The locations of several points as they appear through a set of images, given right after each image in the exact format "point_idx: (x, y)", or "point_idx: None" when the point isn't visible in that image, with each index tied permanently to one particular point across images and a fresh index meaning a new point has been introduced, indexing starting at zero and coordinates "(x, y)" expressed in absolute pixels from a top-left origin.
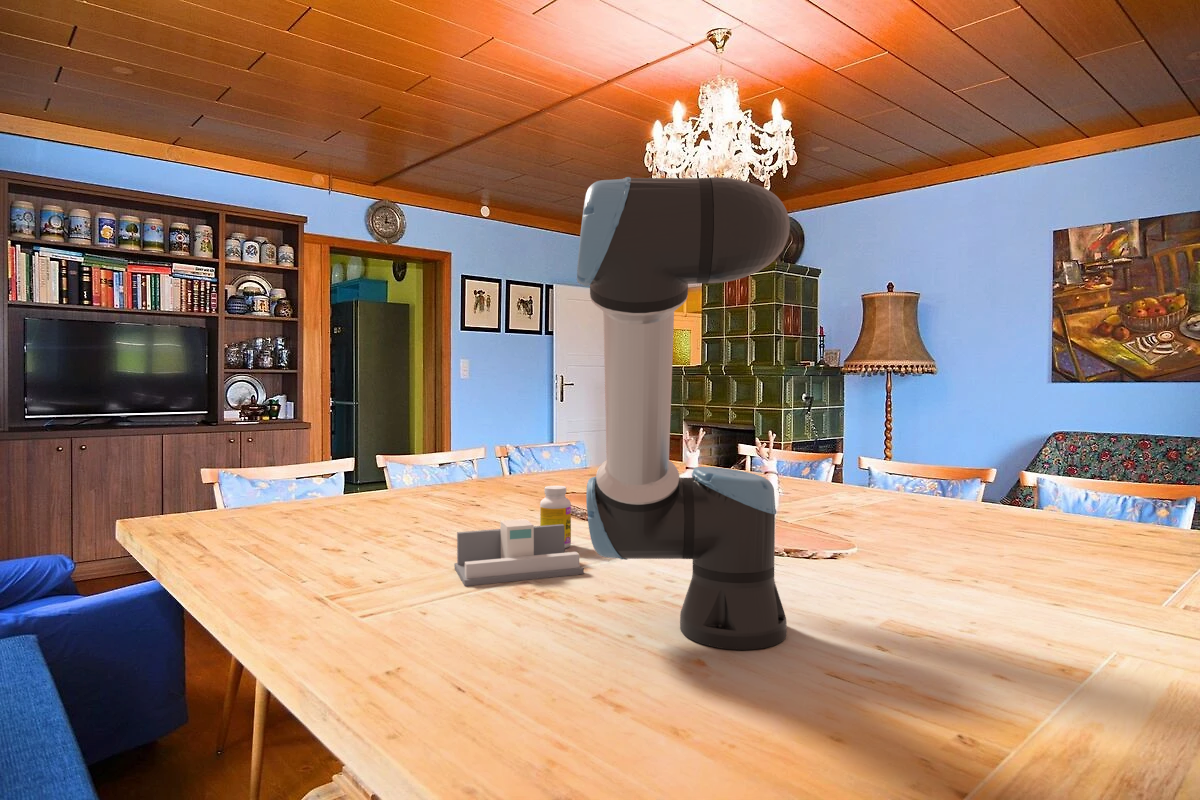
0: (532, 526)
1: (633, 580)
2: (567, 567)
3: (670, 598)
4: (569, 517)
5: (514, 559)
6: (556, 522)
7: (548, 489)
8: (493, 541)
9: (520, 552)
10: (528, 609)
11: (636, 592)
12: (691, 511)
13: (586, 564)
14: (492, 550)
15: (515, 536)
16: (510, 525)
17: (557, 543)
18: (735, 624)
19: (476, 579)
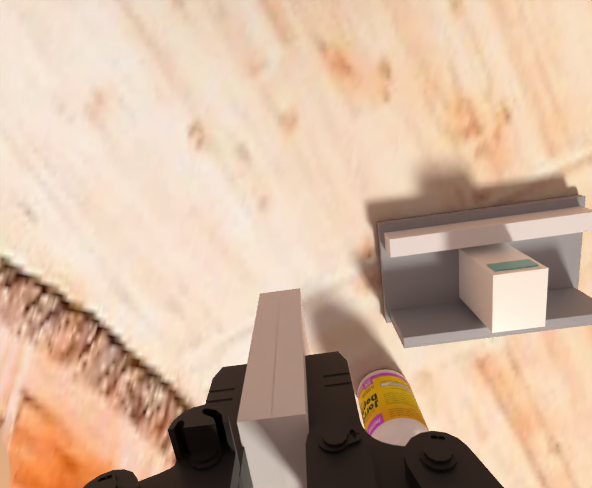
0: (494, 273)
1: (304, 169)
2: (406, 230)
3: (270, 53)
4: (371, 414)
5: (509, 227)
6: (398, 398)
7: None
8: None
9: (494, 254)
10: (512, 47)
11: (317, 100)
12: None
13: (358, 276)
14: None
15: (520, 262)
16: (538, 280)
17: (408, 319)
18: None
19: (565, 199)
